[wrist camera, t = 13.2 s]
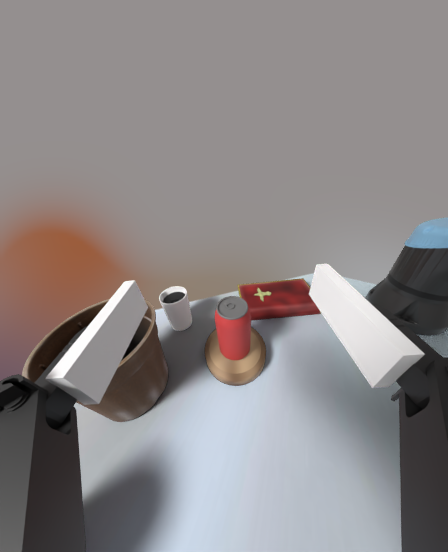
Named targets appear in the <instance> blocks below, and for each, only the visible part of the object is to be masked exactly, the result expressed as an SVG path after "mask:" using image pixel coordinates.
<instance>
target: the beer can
mask: <svg viewBox="0 0 448 552" xmlns="http://www.w3.org/2000/svg"><path fill="white" fill-rule="evenodd" d="M215 323H216V330H217V336H218V342H219V348H220V351H221V353H222V355H223V356H224V357H226V358H227V359H230V360H240V359H243V358H244V357H245V356H247V354H248V353H249V351H250V344H251V313H250V310H249V308H248V304H247V302H246V301H245V300H244V299H242V298H240V297H236V296H229V297H225V298H223V299H221V300H220V301H219V302H218V304H217V306H216V311H215Z"/></svg>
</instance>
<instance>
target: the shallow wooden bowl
mask: <svg viewBox="0 0 448 552" xmlns="http://www.w3.org/2000/svg"><path fill="white" fill-rule="evenodd" d="M265 356H266V347H265V343H264V340H263V338H262V337H261V335H260V334H259V333H258V332H257V331H256V330H255V329H253V328H252V327H251V344H250V351H249V353H248V354H247V356H245V357H244V358H243V359H240V360H230V359H227V358H226V357H224V356H223V355H222V353H221V351H220V348H219V342H218V336H217V330H216V329H215V330H214V331H213V332H212V333H211V334H210V336H209V337H208V339H207V341H206V344H205V357H206V361H207V365H208V368H209V370H210V372H211V373H212V375H213V376H214V377H215V378H216V379H218V380H219V381H220V382H222V383H224V384H228V385H232V386H240V385H245V384H247V383H250V382H252V381H253V380H254V379H256V378H257V377H258V376H259V374H260V373H261V371H262V370H263V367H264V364H265Z"/></svg>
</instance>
